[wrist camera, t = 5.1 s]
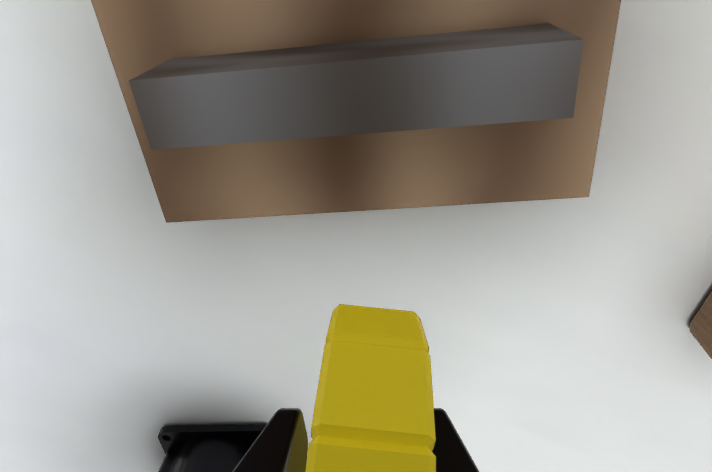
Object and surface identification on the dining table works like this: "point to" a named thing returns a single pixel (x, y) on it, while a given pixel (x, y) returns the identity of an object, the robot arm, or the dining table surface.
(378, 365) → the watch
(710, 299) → the wooden block
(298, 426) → the robot arm
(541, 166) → the cradle
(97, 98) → the dining table surface
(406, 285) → the dining table surface
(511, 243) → the dining table surface
